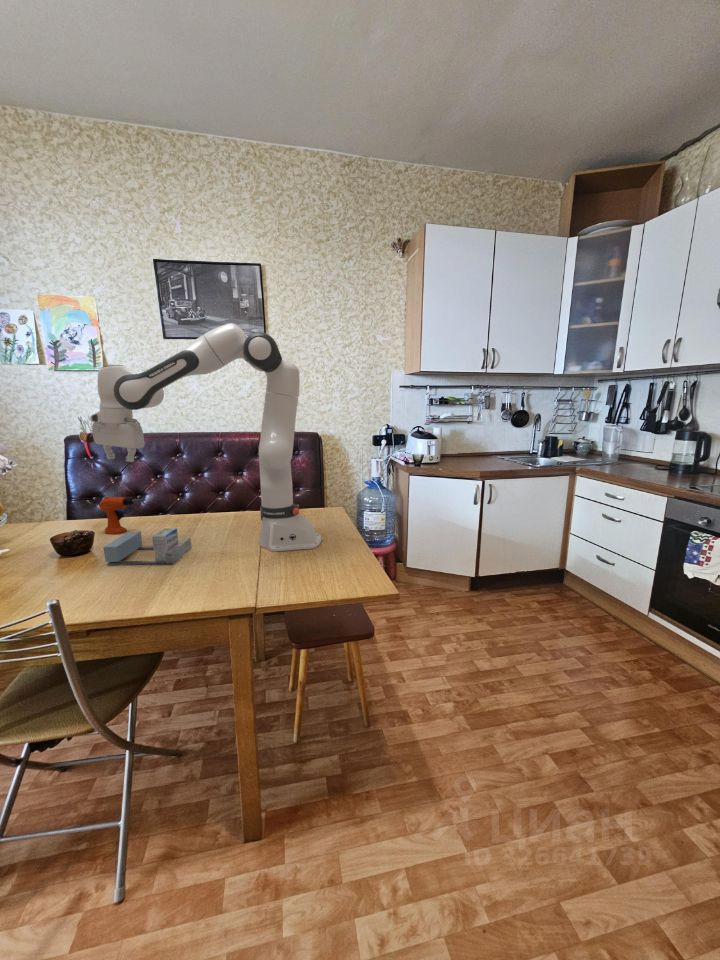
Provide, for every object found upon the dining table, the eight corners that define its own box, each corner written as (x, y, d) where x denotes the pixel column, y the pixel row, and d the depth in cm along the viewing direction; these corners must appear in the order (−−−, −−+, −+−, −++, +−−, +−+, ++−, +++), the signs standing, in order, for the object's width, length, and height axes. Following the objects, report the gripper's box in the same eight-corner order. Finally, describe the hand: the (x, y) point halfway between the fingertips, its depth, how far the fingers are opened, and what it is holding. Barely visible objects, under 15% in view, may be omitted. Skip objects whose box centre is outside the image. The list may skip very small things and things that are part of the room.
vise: (191, 548, 136) (190, 537, 135) (172, 565, 122) (171, 553, 121) (132, 548, 136) (131, 537, 135) (107, 565, 122) (105, 553, 121)
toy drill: (148, 531, 149) (139, 493, 146) (102, 536, 150) (92, 499, 147) (156, 527, 154) (147, 490, 151) (111, 532, 155) (101, 496, 152)
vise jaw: (142, 545, 135) (140, 531, 134) (118, 561, 122) (116, 546, 121) (131, 545, 135) (129, 531, 134) (105, 561, 122) (103, 546, 121)
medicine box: (168, 561, 125) (165, 536, 123) (154, 561, 125) (151, 535, 123) (179, 552, 133) (177, 527, 131) (167, 551, 133) (164, 527, 131)
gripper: (148, 418, 123) (151, 462, 125) (106, 415, 131) (110, 456, 134) (129, 419, 117) (132, 464, 120) (86, 416, 125) (91, 458, 128)
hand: (120, 460), depth 127 cm, fingers open, 8 cm apart
